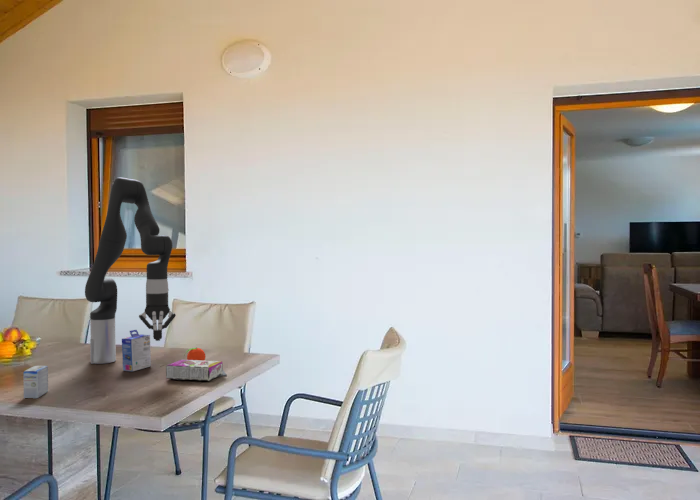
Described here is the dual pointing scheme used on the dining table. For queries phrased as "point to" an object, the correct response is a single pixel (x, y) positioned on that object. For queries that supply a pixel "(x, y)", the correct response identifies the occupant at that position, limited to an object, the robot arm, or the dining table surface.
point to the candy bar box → (194, 370)
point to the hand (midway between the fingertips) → (157, 340)
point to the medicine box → (35, 381)
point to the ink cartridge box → (136, 352)
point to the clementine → (196, 354)
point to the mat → (218, 376)
